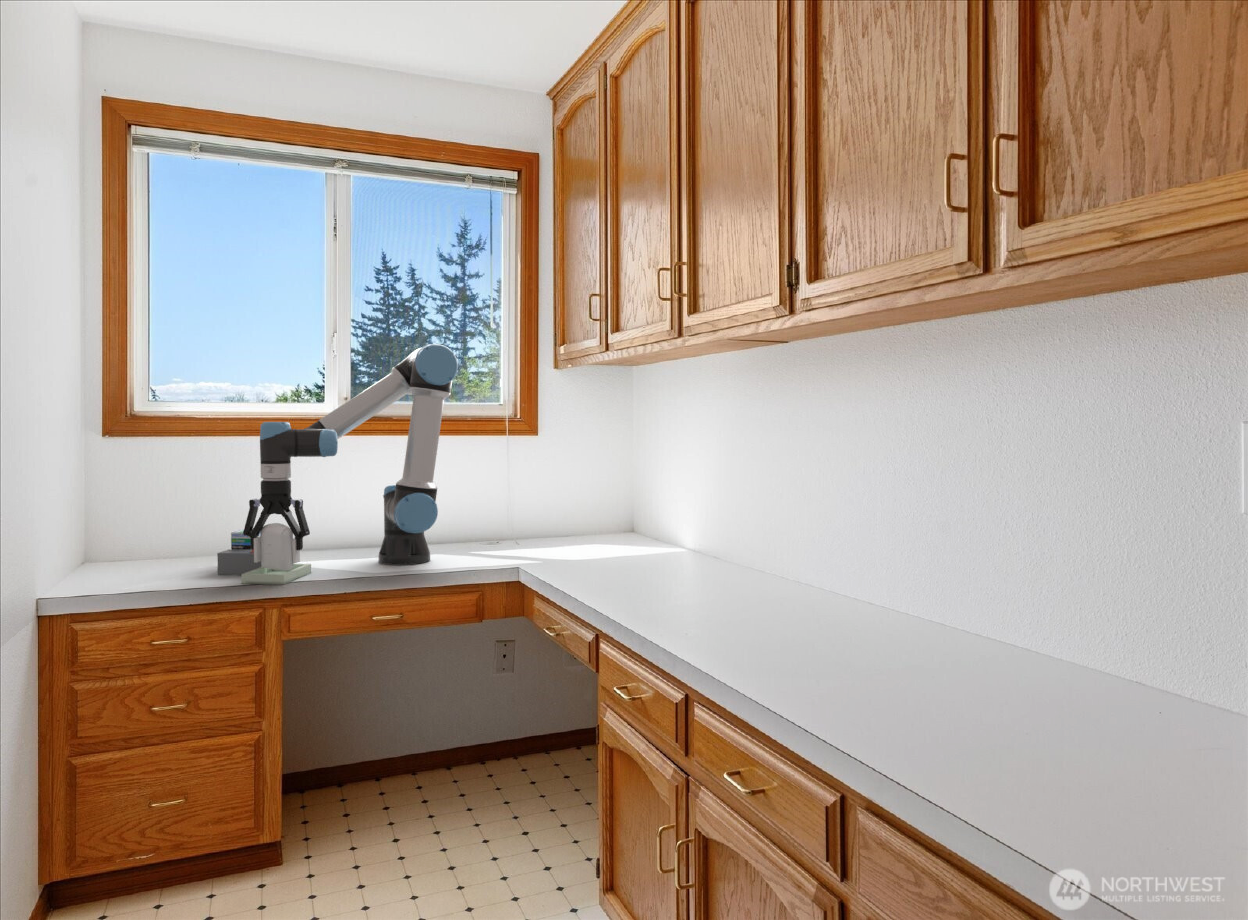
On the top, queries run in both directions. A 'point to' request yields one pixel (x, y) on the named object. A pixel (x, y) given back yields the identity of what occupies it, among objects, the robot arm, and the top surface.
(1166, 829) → the top surface
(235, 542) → the light bulb box
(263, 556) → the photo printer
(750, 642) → the top surface
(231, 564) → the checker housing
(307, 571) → the pale green tray
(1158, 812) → the top surface
